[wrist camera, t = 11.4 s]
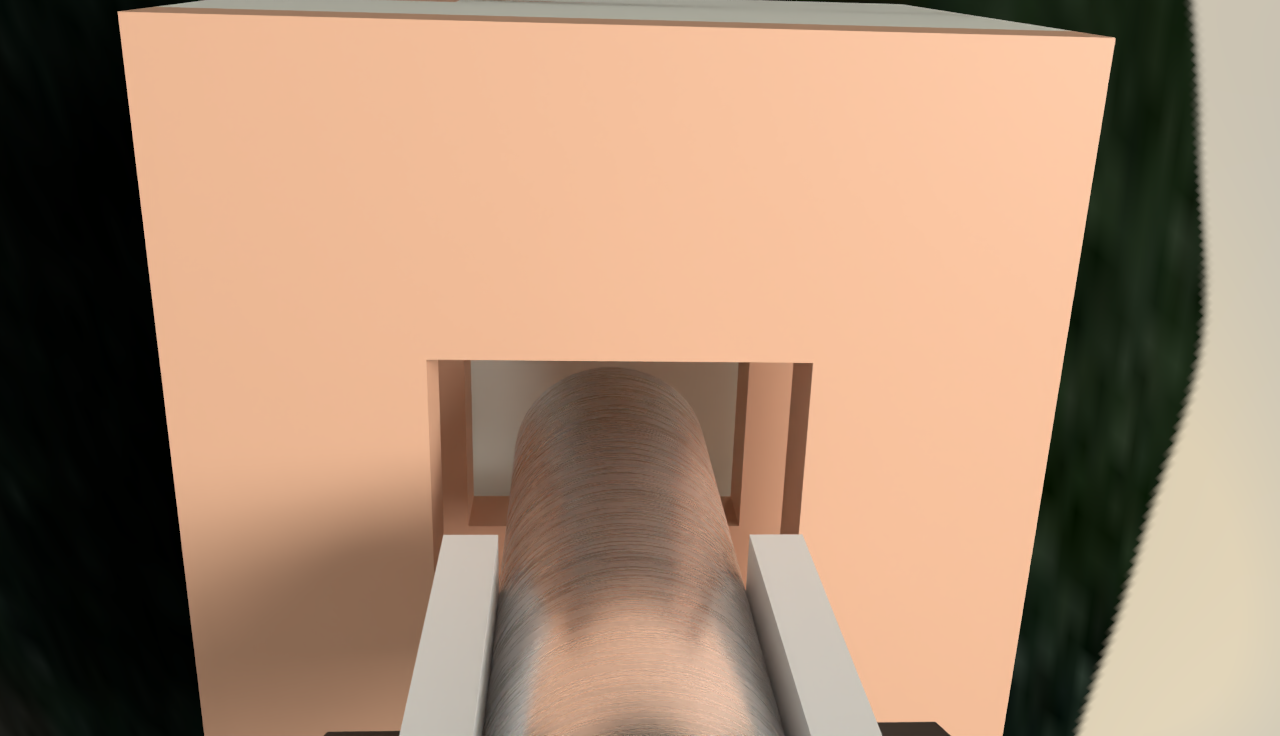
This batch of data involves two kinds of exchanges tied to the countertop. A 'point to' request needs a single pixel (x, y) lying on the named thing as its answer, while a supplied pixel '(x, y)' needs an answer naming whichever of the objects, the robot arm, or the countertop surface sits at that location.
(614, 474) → the metal tube
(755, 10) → the tissue box
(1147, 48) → the countertop surface
